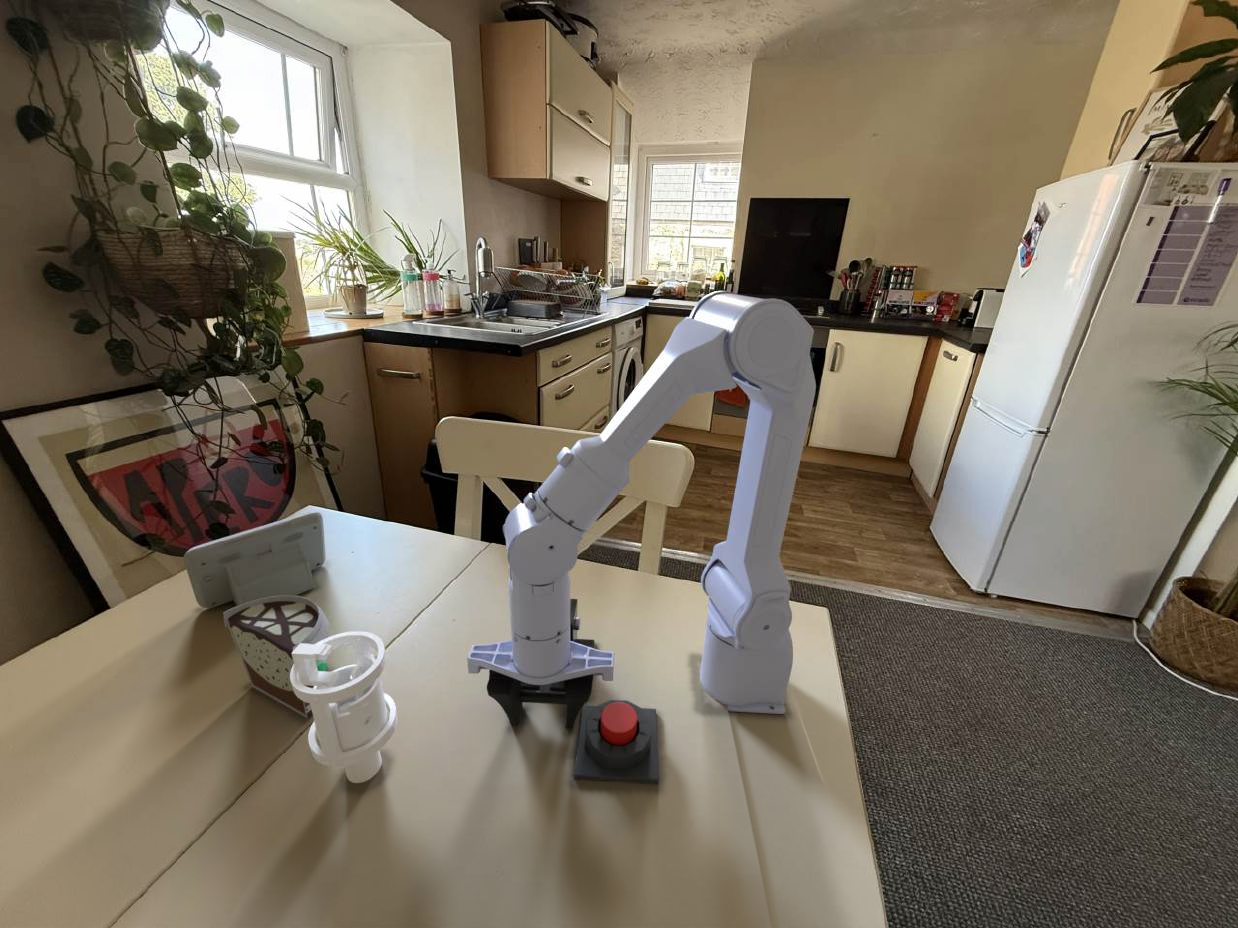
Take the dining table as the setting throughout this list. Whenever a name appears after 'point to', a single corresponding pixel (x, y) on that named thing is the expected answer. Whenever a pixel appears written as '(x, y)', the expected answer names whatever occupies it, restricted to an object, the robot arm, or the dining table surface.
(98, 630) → the dining table surface
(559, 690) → the switch bracket
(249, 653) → the chocolate cake slice
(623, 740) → the button
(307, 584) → the digital clock
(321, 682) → the white plastic cylinder
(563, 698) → the switch
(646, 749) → the control block
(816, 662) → the dining table surface
